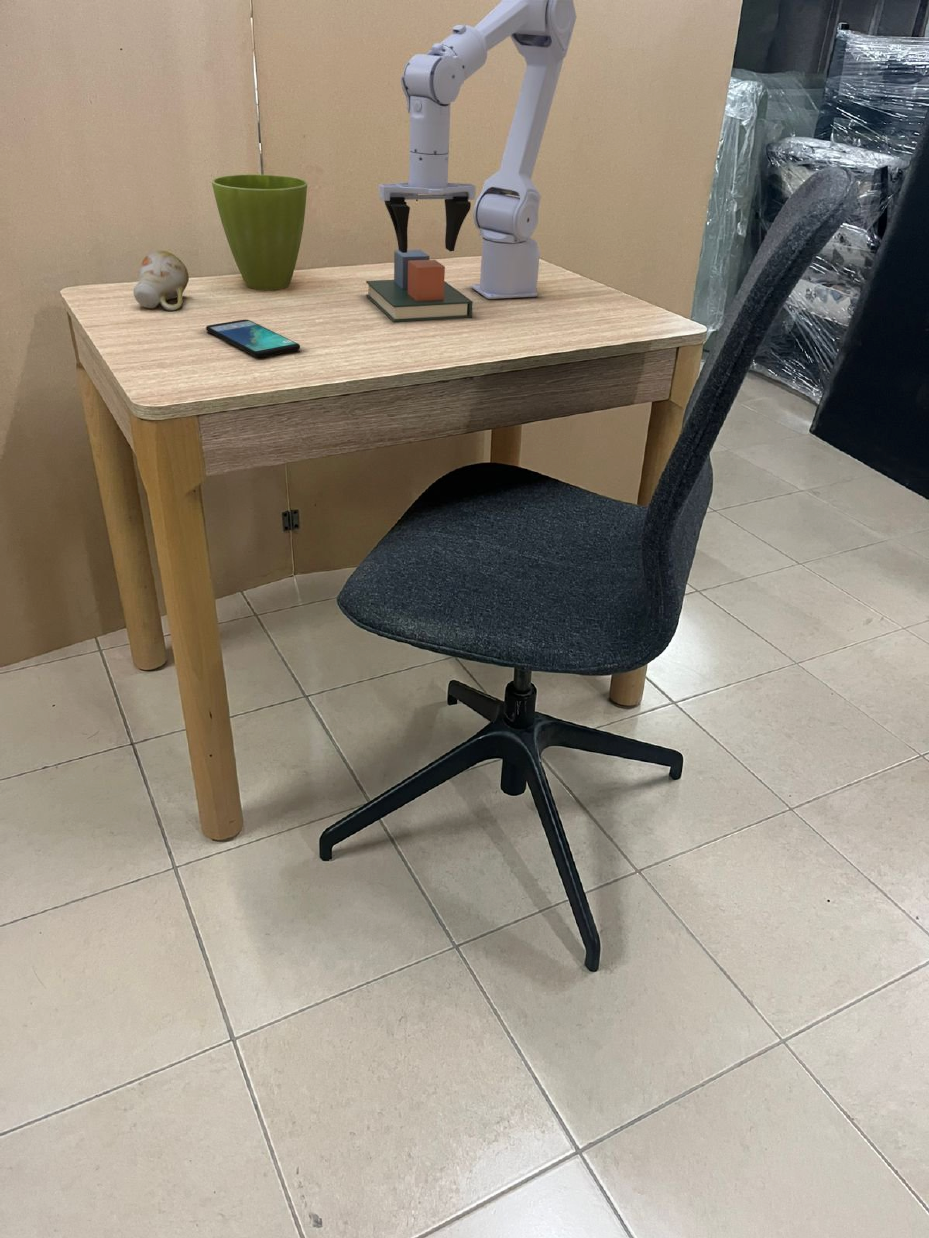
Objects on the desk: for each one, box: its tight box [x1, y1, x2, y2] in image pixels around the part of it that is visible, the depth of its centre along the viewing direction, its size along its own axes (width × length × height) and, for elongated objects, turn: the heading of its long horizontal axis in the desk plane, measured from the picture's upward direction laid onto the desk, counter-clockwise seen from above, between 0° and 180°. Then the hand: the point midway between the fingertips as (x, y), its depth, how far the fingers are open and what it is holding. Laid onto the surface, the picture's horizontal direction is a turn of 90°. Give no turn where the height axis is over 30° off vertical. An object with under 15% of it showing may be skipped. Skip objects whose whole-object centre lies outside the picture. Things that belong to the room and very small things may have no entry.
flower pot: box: [211, 173, 308, 291], centre depth 149 cm, size 15×15×16 cm
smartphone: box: [205, 319, 301, 358], centre depth 127 cm, size 7×1×15 cm
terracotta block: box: [408, 259, 446, 301], centre depth 141 cm, size 4×4×5 cm
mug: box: [132, 250, 190, 311], centre depth 140 cm, size 8×10×10 cm
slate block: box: [393, 249, 430, 289], centre depth 147 cm, size 4×4×5 cm
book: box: [365, 279, 474, 323], centre depth 146 cm, size 13×15×2 cm
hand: (426, 250), depth 139 cm, fingers open, 7 cm apart
